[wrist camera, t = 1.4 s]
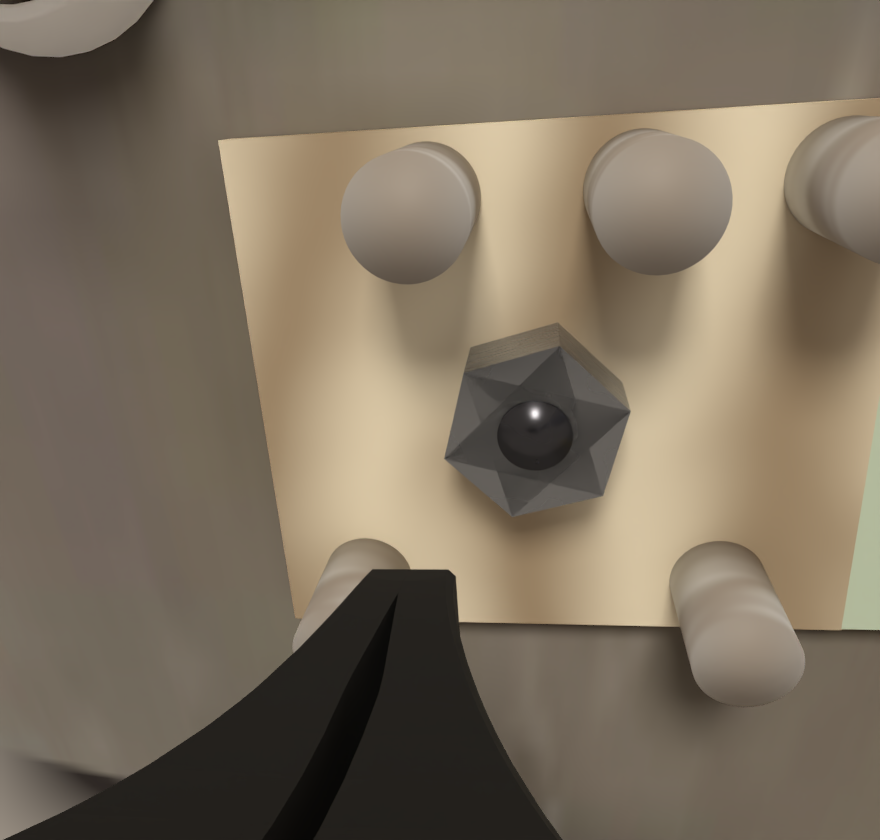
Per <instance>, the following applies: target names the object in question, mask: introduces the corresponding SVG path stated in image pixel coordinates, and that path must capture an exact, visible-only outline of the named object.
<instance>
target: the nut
mask: <svg viewBox="0 0 880 840" xmlns="http://www.w3.org/2000/svg"><path fill="white" fill-rule="evenodd" d="M630 412H631V410H630V407H629V403H628V400H627V396H626V393H625V390H624V386H623V383H622V381H621V380H619V379H618V378H617V377H616V376H615V375H614V374H613V373H612V372H611V371H610V370H609V369H608V368H607V367H605V366H604V365H603V364H602V363H601V362H600V361H599V360H598V359H597V358H596V357H595V356H594V355H593V354H591V353H590V352H589V351H588V350H587V349H586V348H585V347H584V346H583V345H582V344H581V343H580V342H578V341H577V340H576V339H575V338H574V337H573V336H572V335H571V334H570V333H569V332H568V331H567V330H566V329H564V328H563V327H562V326H561V325H560V324H559V323H558V322H557V323H553V324H550V325H546V326H543V327H539V328H536V329H533V330H529V331H526V332H522V333H519V334H515V335H512V336H508V337H505V338H501V339H498V340H494V341H491V342H487V343H484V344H480V345H477V346H473V347H470V351H469V355H468V358H467V362H466V366H465V370H464V373H463V378H462V382H461V387H460V391H459V395H458V400H457V404H456V409H455V413H454V417H453V422H452V426H451V431H450V435H449V439H448V444H447V448H446V453H445V457H444V459H445V460H446V461H447V462H448V463H449V464H451V465H452V466H453V467H454V468H455V469H457V470H458V471H459V472H460V473H461V474H462V475H464V476H465V477H466V478H467V479H468V480H469V481H471V482H472V483H473V484H474V485H475V486H476V487H478V488H479V489H480V490H481V491H482V492H483V493H485V494H486V495H487V496H488V497H489V498H491V499H492V500H493V501H494V502H495V503H496V504H498V505H499V506H500V507H501V508H502V509H503V510H505V511H506V512H507V513H508V514H509V515H510V516H512V517H515V516H519V515H523V514H528V513H532V512H536V511H541V510H545V509H549V508H554V507H558V506H562V505H567V504H571V503H575V502H580V501H584V500H588V499H593V498H597V497H601V496H603V495H604V492H605V488H606V485H607V482H608V479H609V476H610V473H611V470H612V467H613V464H614V461H615V458H616V455H617V452H618V449H619V446H620V443H621V440H622V437H623V434H624V431H625V428H626V425H627V422H628V418H629V415H630Z"/></svg>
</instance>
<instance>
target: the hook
mask: <svg viewBox="0 0 880 840" xmlns="http://www.w3.org/2000/svg"><path fill="white" fill-rule="evenodd" d="M152 2H153V0H32V1H28V2H23V3H19V4H0V47H1V48H3V49H7V50H11V51H15V52H19V53H23V54H26V55H30V56H43V57H65V56H70V55H75V54H80V53H85V52H89V51H92V50H94V49H96V48H98V47H100V46H102V45H104V44H106V43H108V42H111V41H113V40H115V39H116V38H117V37H119V36H120V35H121V34H122V33H124V32H125V31H126V30H127V29H128V28H130V27H131V26H132V25H133V24H135V23H136V22H137V21H138V20H139V18H140V17H141V16H142V15H143V13H144V12H145V11H146V9H147V8H148V7H149V6H150V4H151V3H152Z"/></svg>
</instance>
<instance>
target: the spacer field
mask: <svg viewBox="0 0 880 840" xmlns="http://www.w3.org/2000/svg"><path fill="white" fill-rule="evenodd" d="M218 142H219V148H220V155H221V161H222V167H223V173H224V179H225V186H226V192H227V198H228V204H229V210H230V217H231V223H232V229H233V235H234V241H235V248H236V254H237V260H238V266H239V272H240V279H241V285H242V291H243V297H244V303H245V310H246V316H247V322H248V328H249V334H250V340H251V347H252V353H253V359H254V365H255V371H256V378H257V384H258V390H259V396H260V402H261V409H262V415H263V421H264V427H265V433H266V440H267V446H268V452H269V458H270V464H271V471H272V477H273V483H274V489H275V495H276V502H277V508H278V514H279V520H280V526H281V532H282V539H283V545H284V551H285V557H286V563H287V570H288V576H289V582H290V588H291V594H292V601H293V607H294V613H295V618H301V619H302V620H301V622H300V625H299V627H298V629H297V631H296V634H295V636H294V640H293V653H294V652H295V651H296V650H297V649H298V648H299V647H300V646H301V645H302V644H303V643H304V642H305V641H306V640H307V639H308V638H309V637H310V636H311V635H312V634H313V633H314V632H315V631H316V630H317V629H318V628H319V627H320V626H321V625H322V623H323V622H324V621H325V620H326V619H327V618H328V617H329V616H330V615H331V614H332V613H333V612H334V611H335V609H336V608H337V607H338V606H339V605H340V604H341V603H342V602H343V601H344V599H345V598H346V597H347V596H348V595H349V594H350V593H351V592H352V590H353V589H354V588H355V587H356V586H357V585H358V584H359V583H360V582H361V580H362V579H363V578H364V577H365V576H366V575H367V574H368V573H369V572H370V571H371V570H372V569H447V570H450V571H451V572H452V573H453V574H454V575H455V576H456V586H457V601H458V615H459V622H485V623H531V624H577V625H623V626H668V627H680V628H681V632H682V635H683V639H684V643H685V647H686V650H687V654H688V658H689V662H690V665H691V669H692V673H693V676H694V679H695V681H696V683H697V685H698V686H699V687H700V688H701V690H702V691H703V692H704V693H705V694H707V695H708V696H709V697H711V698H713V699H714V700H716V701H719V702H721V703H724V704H727V705H731V706H737V707H754V706H760V705H765V704H768V703H771V702H773V701H776V700H778V699H780V698H781V697H783V696H785V695H786V694H787V693H789V692H790V691H791V690H792V689H793V688H794V687H795V686H796V685H797V683H798V682H799V680H800V679H801V677H802V674H803V672H804V668H805V655H804V651H803V648H802V646H801V644H800V642H799V640H798V638H797V636H796V634H795V632H794V630H793V629H806V630H841V628H842V622H843V616H844V609H845V603H846V597H847V591H848V585H849V579H850V573H851V567H852V561H853V555H854V549H855V543H856V537H857V531H858V524H859V518H860V512H861V506H862V500H863V494H864V488H865V482H866V476H867V470H868V464H869V458H870V452H871V445H872V439H873V433H874V427H875V421H876V415H877V409H878V403H879V397H880V98H869V99H854V100H838V101H822V102H806V103H790V104H774V105H758V106H743V107H727V108H711V109H695V110H679V111H663V112H648V113H632V114H616V115H600V116H584V117H568V118H552V119H537V120H521V121H505V122H489V123H473V124H457V125H441V126H426V127H410V128H394V129H378V130H362V131H346V132H331V133H315V134H299V135H283V136H267V137H251V138H235V139H226V140H219V141H218ZM557 322H558V323H559V324H560V325H561V326H562V327H563V328H564V329H566V330H567V331H568V332H569V333H570V334H571V335H572V336H573V337H574V338H575V339H576V340H577V341H578V342H580V343H581V344H582V345H583V346H584V347H585V348H586V349H587V350H588V351H589V352H590V353H591V354H593V355H594V356H595V357H596V358H597V359H598V360H599V361H600V362H601V363H602V364H603V365H604V366H605V367H607V368H608V369H609V370H610V371H611V372H612V373H613V374H614V375H615V376H616V377H617V378H618V379H619V380H621V381H622V383H623V386H624V390H625V393H626V396H627V400H628V403H629V407H630V410H631V412H630V415H629V418H628V422H627V425H626V428H625V431H624V434H623V437H622V440H621V443H620V446H619V449H618V452H617V455H616V458H615V461H614V464H613V467H612V470H611V473H610V476H609V479H608V482H607V485H606V488H605V492H604V495H603V496H601V497H597V498H593V499H588V500H584V501H580V502H575V503H571V504H567V505H562V506H558V507H554V508H549V509H545V510H541V511H536V512H532V513H528V514H523V515H519V516H515V517H512V516H510V515H509V514H508V513H507V512H506V511H505V510H503V509H502V508H501V507H500V506H499V505H498V504H496V503H495V502H494V501H493V500H492V499H491V498H489V497H488V496H487V495H486V494H485V493H483V492H482V491H481V490H480V489H479V488H478V487H476V486H475V485H474V484H473V483H472V482H471V481H469V480H468V479H467V478H466V477H465V476H464V475H462V474H461V473H460V472H459V471H458V470H457V469H455V468H454V467H453V466H452V465H451V464H449V463H448V462H447V461H446V460H445V459H444V457H445V453H446V448H447V444H448V439H449V435H450V431H451V426H452V422H453V417H454V413H455V409H456V404H457V400H458V395H459V391H460V387H461V382H462V378H463V373H464V370H465V366H466V362H467V358H468V355H469V351H470V347H473V346H477V345H480V344H484V343H487V342H491V341H494V340H498V339H501V338H505V337H508V336H512V335H515V334H519V333H522V332H526V331H529V330H533V329H536V328H539V327H543V326H546V325H550V324H553V323H557Z"/></svg>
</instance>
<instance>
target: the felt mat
mask: <svg viewBox="0 0 880 840" xmlns="http://www.w3.org/2000/svg"><path fill="white" fill-rule="evenodd" d="M841 629H857V630H880V397H879V403H878V409H877V415H876V421H875V427H874V433H873V439H872V445H871V452H870V458H869V464H868V470H867V476H866V482H865V488H864V494H863V500H862V506H861V512H860V518H859V524H858V531H857V537H856V543H855V549H854V555H853V561H852V567H851V573H850V579H849V585H848V591H847V597H846V603H845V609H844V616H843V622H842V628H841Z"/></svg>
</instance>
